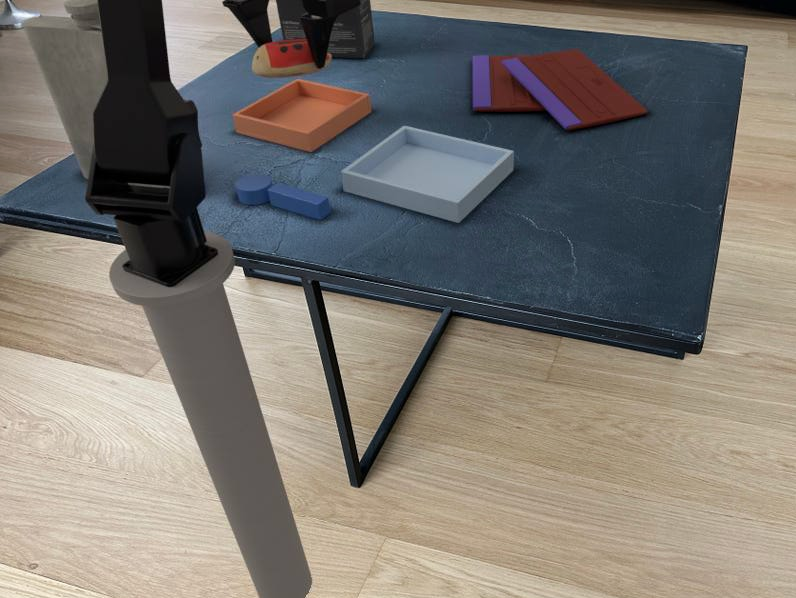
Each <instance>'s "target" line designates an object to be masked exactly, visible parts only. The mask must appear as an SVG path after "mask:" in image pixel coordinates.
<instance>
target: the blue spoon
mask: <svg viewBox="0 0 796 598" xmlns="http://www.w3.org/2000/svg"><path fill="white" fill-rule="evenodd" d="M234 187H235V189H236V193H237V197H238V201H239V202H240V203H242V204H243V205H248V206H257V205H259V206H260V205H262V204H265V203H268V202H269V203H270V206H272V207H275V208H279V209H282V210H285V211H288V212H292V213H295V214H299V215H302V216H305V217H309V218H312V219H314V220H318V221H322V220H323V219H325V218H326V217H327V216H329V215H330V214H331V213H332V211H331V205H330V201H329V197H328V196H327V195H322V194H319V193H316V192H311V191H308V190H305V189H301V188H299V187H298V188H297V187H294V186H291V185H287V184H284V183H280V182H276V183H275V184H273V179H272V178H271V176H269V175H268V174H265V173H250V174H246V175H243V176H241V177H240V178H238V179H237V180H236V181H235V184H234Z"/></svg>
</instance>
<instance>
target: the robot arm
mask: <svg viewBox="0 0 796 598" xmlns="http://www.w3.org/2000/svg"><path fill="white" fill-rule="evenodd" d="M301 1H302V3H303V7H304V9H305V10H306V11H307V12H308V13H306V14H304V15H302V16H300V21H301V24H302V27H303V30H304V33H305V36H306V39H307V42H308V45H309V48H310V51H311V55H312V58H313V60H314V62H315V65H316V67H317V68H318V69H321V68H323V67H324V66H325V62H326V56H327V51H328V46H329V41H330V36H331V32H332V29H333V26H334V23H335V20H336V19H337V17H338V16H339V15H341V14H343V13H345V12H347V11H349V10H351V9H353V8H355V7H357V6H359V5H361V1H360V0H301ZM221 3H222V6H223V7H225V8H228V10H229V11H230V12H231V13H232V14H233V16H234V17H235V19H236V20H237V21H238V22H239V23H240V25H241V26H242V27H243V28H244V30H245V31H246V32H247V34H248V35H249V36H250V38H251V39H252V40H253V42H254V43H255V45H256V46H257V48H258V49H259V48H260V47H261V46H262V45H264V44H267V43H270V42H273V37H272V30H271V25H270V18H269V13H268V9H269V8H268V7H269V3H270V0H222V2H221ZM97 4H98V11H99V18H100V25H101V33H102V40H103V47H104V54H105V61H106V69H107V83H106V85H105V87H104V89H103V91H102V93H101V95H100V97H99V100H98V102H97V104H96V106H95V108H94V110H93V137H94V144H93V150H92V157H91V163H90V170H89V177H88V179H87V184H86V189H85V197H84V199H85V202H86V203H87V205H88V206H89V207H90V208H91V210H92V211H93V212H94V213H95V215H97V216H104V215H106V216H107V215H108V216H113V221H114V223H115V226H116V228H117V231H118V233H119V236H120V238H121V241H122V244H123V247H124V248H125V249H126V251H127V254H128V256H129V259H130V260H129V261H127V262H126V263H124V264H123V265H122V267H123V269H124V271H126V272H129V273H131V274H134V275H137V276H139V277H142V278H145V279H147V280H150V281H153V282H155V283H158V284H161V285H163V286H166V287H174V286H175V285H177V284H178V283H180V282H181V281H182V280H184V279H185V278H187V277H188V276H189V275H191V274H192V273H193V272H195V271H196V270H198V269H199V268H200V267H202V266H203V265H205V264H206V263H207V262H209V261H210V260H212V259H213V258H214V257H216V256H217V255H218V250H217V249H216V248H214V247H211V246H208V245H205V243H206V242H207V239H206V236H205V233H204V231H205V230H204V226H203V223H202V220H201V219H202V218H201V216H200V213H199V210H198V207H199V206H200V204H202V202H203V201H204V200H205V199H206V183H205V173H204V161H203V151H202V147H203V144H202V139H201V136H200V131H199V110H198V108H197V105H196V103H195V102H194V100H192V99H184V98H183V97H182V95H181V93H180V92H179V91H178V89H177V87H176V86H175V85H174V83H173V82H172V79H171V71H170V63H169V52H168V43H167V35H166V26H165V25H166V23H165V15H164V6H163V0H97ZM128 183H136V184H148V185H159V186H170V188H167V187H164V188H160V187H148V186H137V185H129V184H128ZM125 249H124V250H125Z"/></svg>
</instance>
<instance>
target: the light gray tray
mask: <svg viewBox="0 0 796 598" xmlns="http://www.w3.org/2000/svg"><path fill="white" fill-rule="evenodd" d="M514 164H515V151H514V150H511V149H507V148H502V147H498V146H493V145H489V144H487V143H482V142H477V141H473V140H468V139H464V138H460V137H455V136H452V135H447V134H443V133H438V132H433V131H430V130H425V129H421V128H416V127H412V126H409V125H408V126H407V125H402V126H401V127H400V128H398V129H397V130H395V131H394V132H393V133H392V134H390V135H389V136H388V137H386V138H384V139H383V140H382V141H381V142H379V143H378V144H377V145H375V146H373V147H372V148H371V149H370V150H368V151H367V152H365V153H364V154H363V155H361V156H360V157H358V158H357V159H356V160H354V161H353V162H352V163H350V164H349V165H348V166H346V167H345V168H343V169H342V170H340V176H341V181H342V189H343V192H346V193H349V194H353V195H356V196H360V197H363V198H366V199H367V198H368V199H371V200H375V201H377V202H381V203H385V204H389V205H392V206H396V207H400V208H403V209H406V210H410V211H413V212H418V213H420V214H424V215H427V216H432V217H436V218H439V219H442V220H446V221H449V222H453V223H457V224H460V223H461V222H462V221H463V220H464V219H465V218H466V217H467V216H469V214H470V213H471V212H472V211H474V210H475V208H476V207H478V205H479V204H480V203H481V202H483V201H484V200H485V199H486V198H487V197H488V196H489V195H490V194H491V193H492V192H493V191H494V190H495V189H496V188H497V187H498V186H499V185H500V184H501V183H503V181H504V180H505V179H506V178H507V177H509V175H510V174H511V173H512V172H514V169H515V167H514V166H515V165H514Z"/></svg>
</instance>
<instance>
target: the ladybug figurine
mask: <svg viewBox="0 0 796 598" xmlns="http://www.w3.org/2000/svg"><path fill="white" fill-rule="evenodd" d="M332 59H333V57H332V56H331V54H329V53H327V56H326V62H325V66H324V67H323V68H321V69H318V68H317V67H316V65H315V62H314V60H313V58H312V55H311V51H310V48H309V45H308V42H307V39H290V40H283V39H282V40H276V41H272V42H270V43H267V44H264V45H262V46H261V47H260V48H259V47H258V48H257V50H256V52H255V53H254V56H253V58H252V62H251V63H252V64H251V70H252V72H253V73H254V74H255V75H257V76H259V77H262V78H268V79H270V78H271V79H282V78H294V77H300V76H301V77H302V76H306V75H312V74H315V73H318V72H321V71H323V70H325V69H326V68H328V67H329V66H330V65H331V61H332Z"/></svg>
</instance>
